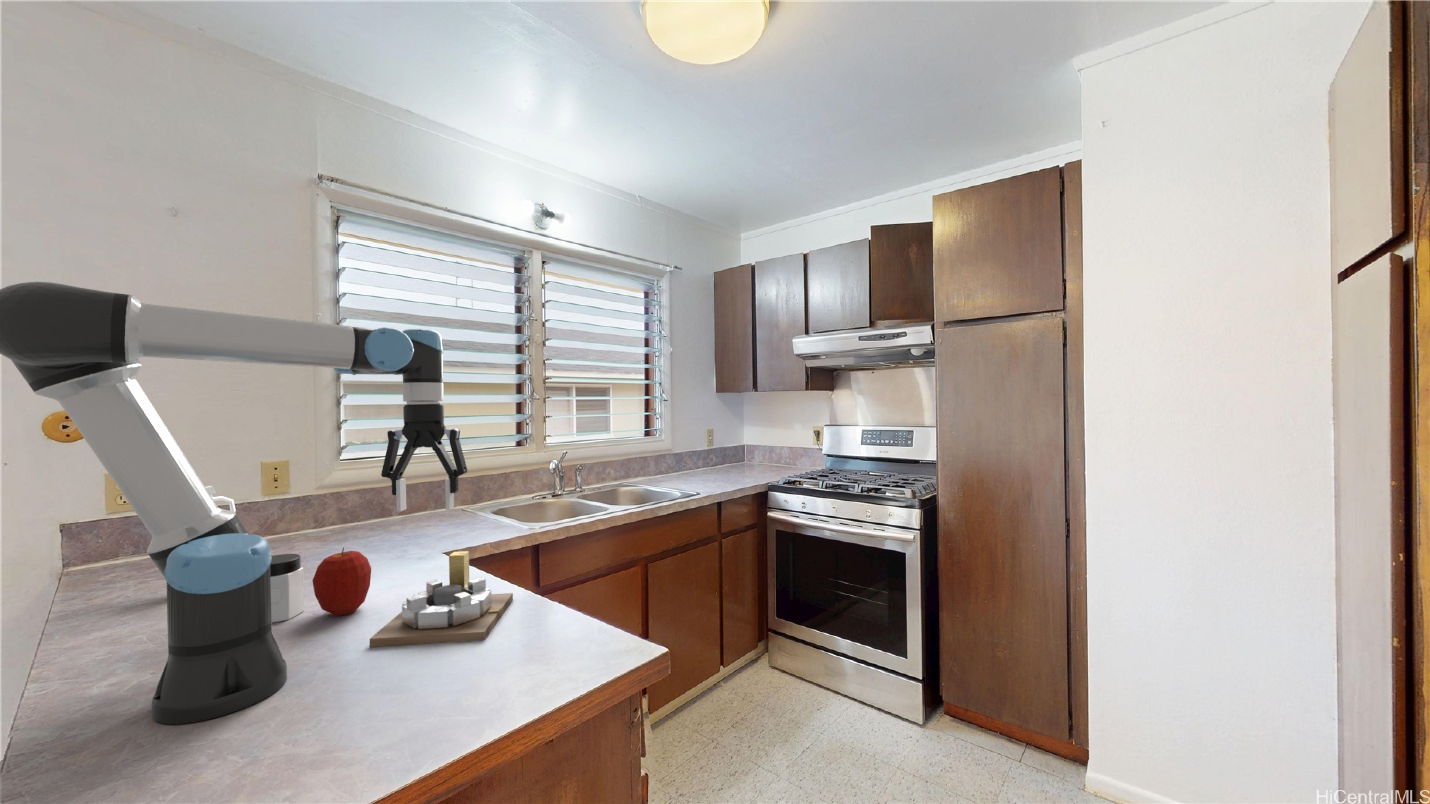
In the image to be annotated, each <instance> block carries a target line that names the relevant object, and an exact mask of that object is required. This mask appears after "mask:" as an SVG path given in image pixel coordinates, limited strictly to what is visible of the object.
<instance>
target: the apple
mask: <svg viewBox="0 0 1430 804" xmlns="http://www.w3.org/2000/svg"><path fill="white" fill-rule="evenodd" d="M344 550H345V549H344V547H342V551H341V552H338V553H335V554H332V555H330V556H327V557H325V558H323V560H322V561H321V562H320V563H319V564H318V566H317V568H316V571H315V574H314V576H313V578H312V586H313V592H314V597H315V598H316V600H317V602H318V604H319V606H320V608H321V610H322V611H324V612H326V613H329V614H330V615H332V616H334V617H335V616H336V617H338V616H339V617H340V616H346V615H350V614H353V613H355V612H356V611H357V610H358V609H359V608H360V607H361V605H363V604H364V603H365V601H366V599H367V596H368V592H369V589H370V587H371V578H372V577H371V576H372V566H371V564H370V561H369V559H368V557H366V556H365V555H364V554H363V553H362V552H360V551H357V550H348V551H344Z"/></svg>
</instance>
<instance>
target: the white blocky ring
mask: <svg viewBox="0 0 1430 804" xmlns="http://www.w3.org/2000/svg"><path fill="white" fill-rule="evenodd" d="M469 552H470V551H468V550H466V551H465V550H464V551H454V552H452V553H451V554H449V555H448V572H449V574H448V575H449V585H460V586H462V593H458V594H455V595H454V604H451V605H442V606H434V590H435V589H437V588H439V587H442V586H443V582H442V581H440V580H438V579H434V580H430V581H426V582H425V583H426V585H425V586H426V590H424V591H421V592H417V594H413V595H412V596H411V597H407V598H406V601H404V602H403V603H402V606H401V612H402V622H404V623H406V624H407V625H409V626H411V627H413V628H417V627H418V629H426V628H442V627H448V626H449V625H450V624H451V625H453V626H455V625H458V624H461V623H464V622H467V621H470V620H473V619H476V618H479V617H480V615H484V614H485V613H486V611H487V610H488V609H489V607H490V606H491V594H492V589H491V588H489V587H487V586H486V585H487V584H486V583H487V580H486V578H484V577H477V578H475V579H471V580H470V555H469V554H470V553H469Z"/></svg>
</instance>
